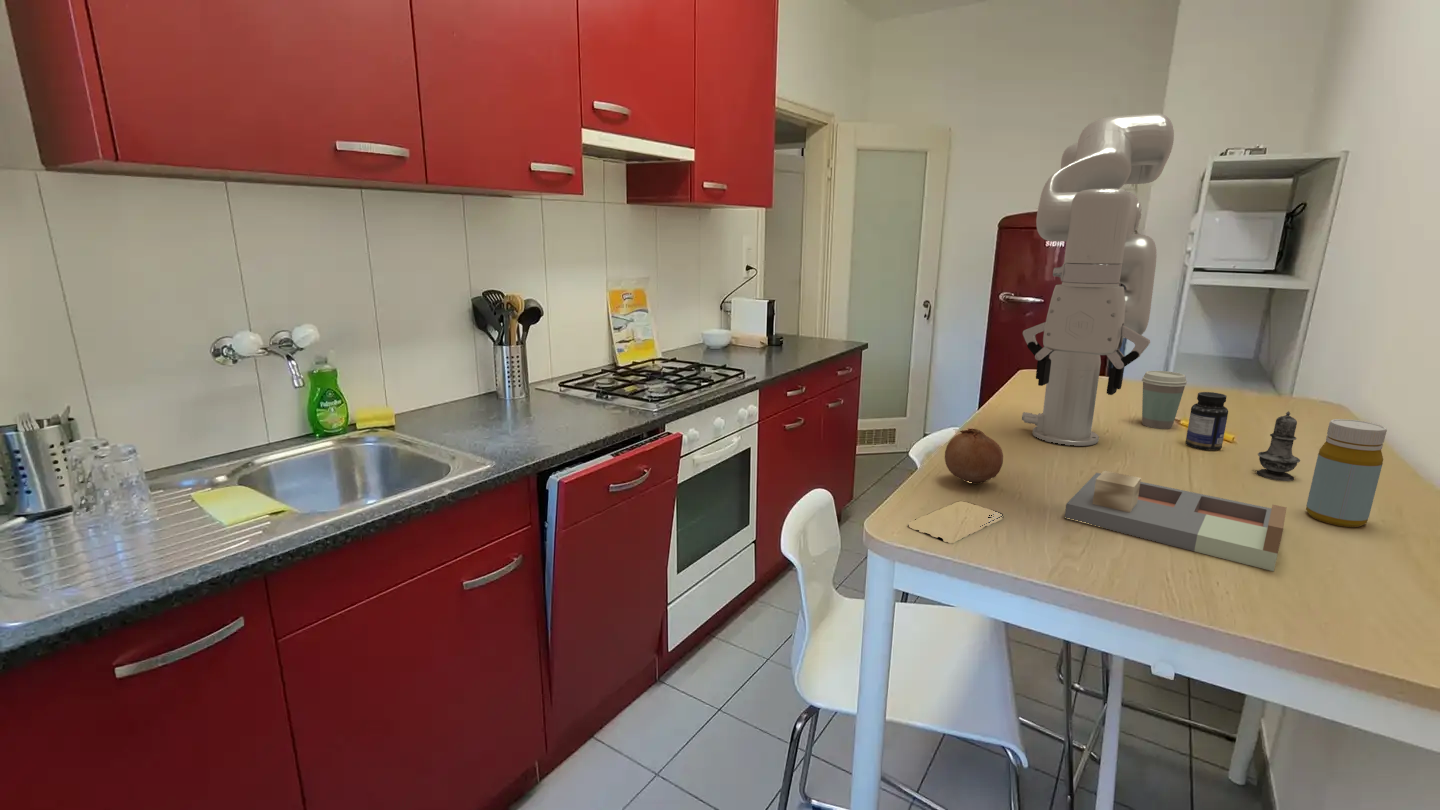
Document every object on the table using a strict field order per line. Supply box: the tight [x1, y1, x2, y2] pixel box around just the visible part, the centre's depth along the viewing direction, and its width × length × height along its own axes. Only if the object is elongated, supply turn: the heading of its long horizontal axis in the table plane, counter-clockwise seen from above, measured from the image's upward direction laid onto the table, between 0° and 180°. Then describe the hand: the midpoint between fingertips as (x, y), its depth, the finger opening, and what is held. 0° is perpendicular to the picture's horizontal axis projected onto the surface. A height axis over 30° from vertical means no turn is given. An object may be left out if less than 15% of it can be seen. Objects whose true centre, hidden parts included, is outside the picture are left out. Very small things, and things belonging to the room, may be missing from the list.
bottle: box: [1305, 418, 1388, 528], centre depth 99 cm, size 7×7×15 cm
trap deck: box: [1064, 472, 1287, 572], centre depth 99 cm, size 25×18×6 cm
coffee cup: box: [1141, 370, 1188, 430], centre depth 149 cm, size 8×9×12 cm
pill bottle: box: [1185, 391, 1229, 451], centre depth 134 cm, size 6×6×11 cm
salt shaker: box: [1255, 410, 1301, 482], centre depth 118 cm, size 6×6×12 cm
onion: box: [944, 427, 1004, 484], centre depth 115 cm, size 10×9×10 cm
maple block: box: [1093, 470, 1142, 512], centre depth 101 cm, size 5×5×4 cm
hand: (1076, 388), depth 102 cm, fingers open, 9 cm apart
